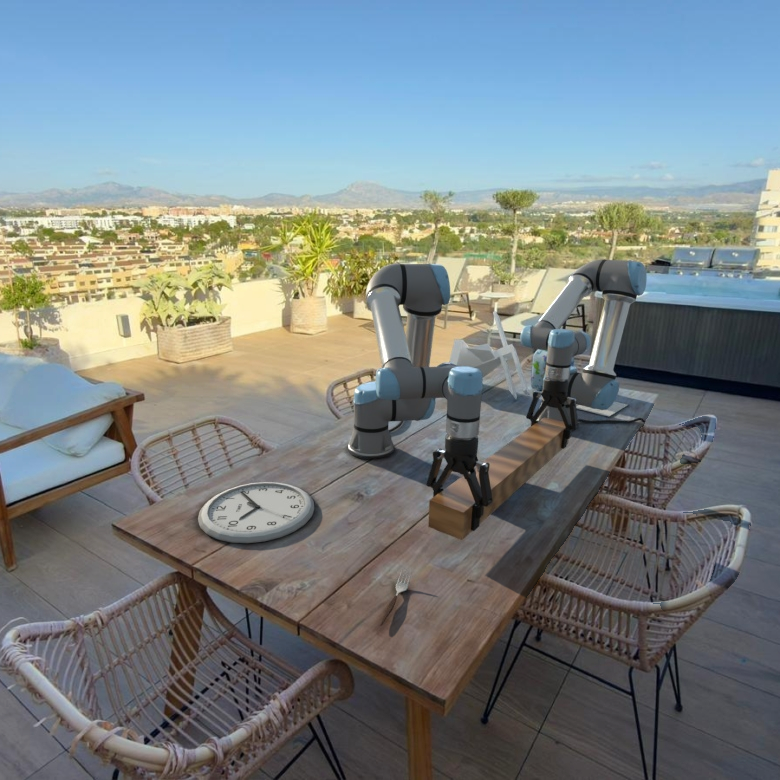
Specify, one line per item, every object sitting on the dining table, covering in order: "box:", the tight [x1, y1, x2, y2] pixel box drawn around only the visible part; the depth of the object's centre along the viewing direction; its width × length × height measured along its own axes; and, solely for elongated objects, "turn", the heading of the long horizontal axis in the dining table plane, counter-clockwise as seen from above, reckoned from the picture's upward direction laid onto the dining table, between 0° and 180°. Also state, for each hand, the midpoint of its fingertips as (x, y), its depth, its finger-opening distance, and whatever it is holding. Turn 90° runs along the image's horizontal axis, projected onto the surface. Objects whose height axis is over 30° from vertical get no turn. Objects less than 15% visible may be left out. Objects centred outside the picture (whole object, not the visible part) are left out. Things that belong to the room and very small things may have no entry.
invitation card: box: [576, 401, 629, 418], centre depth 226 cm, size 21×1×15 cm
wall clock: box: [197, 481, 315, 544], centre depth 139 cm, size 30×2×30 cm
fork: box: [379, 570, 413, 627], centre depth 106 cm, size 3×16×2 cm, turn 160°
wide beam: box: [427, 418, 570, 541], centre depth 149 cm, size 72×9×7 cm, turn 143°
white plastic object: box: [449, 310, 531, 400], centre depth 245 cm, size 37×45×31 cm
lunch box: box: [530, 349, 575, 391], centre depth 249 cm, size 26×11×21 cm, turn 134°
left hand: (456, 521), depth 126 cm, fingers closed on wide beam, 9 cm apart
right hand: (549, 443), depth 173 cm, fingers closed on wide beam, 9 cm apart
